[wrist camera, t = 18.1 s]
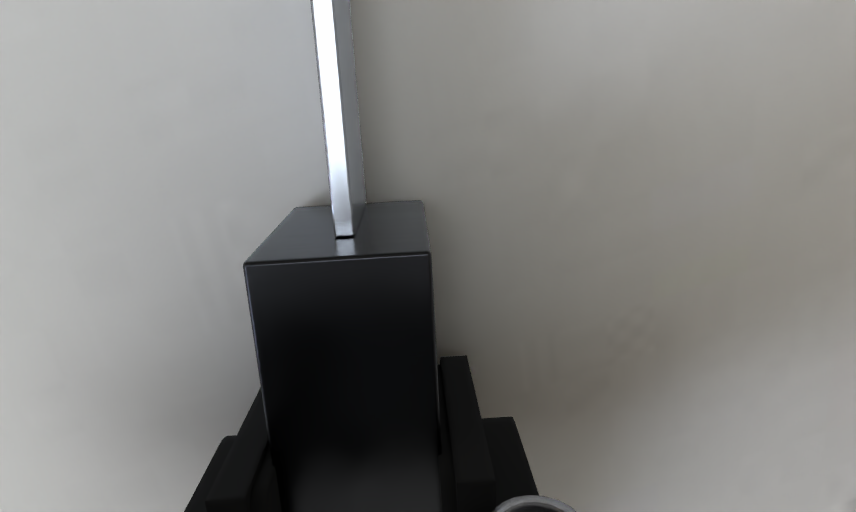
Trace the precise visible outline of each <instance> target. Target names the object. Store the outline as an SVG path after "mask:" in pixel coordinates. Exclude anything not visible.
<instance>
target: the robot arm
mask: <svg viewBox="0 0 856 512" xmlns="http://www.w3.org/2000/svg"><path fill="white" fill-rule="evenodd" d="M437 370H438V389H439V408H440V427H441V445H442V454H441V455H438V461H439V479H440V496H441V512H576V511H575V510H574V509H573V508H572V507H571V506H569V505H567V504H565V503H563V502H561V501H559V500H556V499H553V498H549V497H546V496H539V494H538V491H537V488H536V485H535V482H534V479H533V476H532V473H531V470H530V467H529V463H528V460H527V457H526V454H525V451H524V448H523V445H522V442H521V439H520V436H519V433H518V430H517V427H516V424H515V421H514V419H513V417H499V418H484V419H481V415H480V410H479V406H478V402H477V397H476V393H475V389H474V384H473V380H472V376H471V371H470V367H469V363H468V358H467V355H465V356H450V357H440V364H437ZM184 512H282V510H281V503H280V497H279V490H278V483H277V476H276V469H275V467H274V466H273V465H272V459H271V453H270V446H269V439H268V432H267V425H266V419H265V412H264V405H263V398H262V391H261V387H260V390H259V392H258V394H257V396H256V398H255V400H254V402H253V404H252V406H251V408H250V410H249V412H248V414H247V416H246V418H245V420H244V422H243V424H242V426H241V428H240V430H239V432H238V434H237V435H235V436H227V437H224V439H223V440H222V441H221V443H220V445H219V447H218V449H217V450H216V452H215V454H214V456H213V458H212V460H211V462H210V464H209V466H208V467H207V469H206V471H205V473H204V475H203V477H202V479H201V481H200V483H199V484H198V486H197V488H196V490H195V492H194V494H193V496H192V498H191V500H190V502H189V503H188V505H187V507H186V509H185V511H184Z"/></svg>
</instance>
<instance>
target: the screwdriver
mask: <svg viewBox="0 0 856 512" xmlns="http://www.w3.org/2000/svg"><path fill="white" fill-rule="evenodd" d="M311 10H312V20H313V30H314V40H315V50H316V60H317V69H318V79H319V89H320V99H321V109H322V119H323V129H324V139H325V149H326V159H327V169H328V179H329V189H330V199H331V205H330V206H313V207H296V208H294V209H293V210H292V211H291V212H290V214H289V215H288V216H287V217H286V218H285V219H284V220H283V221H282V222H281V223H280V224H279V225H278V226H277V228H276V229H275V230H274V231H273V232H272V233H271V234H270V235H269V236H268V237H267V238H266V239H265V241H264V242H263V243H262V244H261V245H260V246H259V247H258V248H257V249H256V250H255V251H254V252H253V253H252V255H251V256H250V257H249V258H248V259H247V260H246V261H245V262H244V264H243V269H244V276H245V283H246V290H247V296H248V303H249V310H250V317H251V324H252V330H253V337H254V344H255V351H256V358H257V364H258V371H259V378H260V385H261V391H262V398H263V405H264V412H265V419H266V425H267V432H268V439H269V446H270V453H271V459H272V465H273V466H274V467H275V469H276V476H277V483H278V490H279V497H280V503H281V510H282V512H441V496H440V479H439V461H438V455H441V454H442V445H441V427H440V408H439V389H438V370H437V351H436V332H435V313H434V294H433V275H432V257H431V249H430V242H429V236H428V229H427V223H426V217H425V210H424V204H423V201H421V200H415V201H398V202H381V203H366V190H365V178H364V166H363V154H362V142H361V130H360V118H359V106H358V94H357V82H356V70H355V58H354V46H353V33H352V21H351V9H350V0H311Z"/></svg>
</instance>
